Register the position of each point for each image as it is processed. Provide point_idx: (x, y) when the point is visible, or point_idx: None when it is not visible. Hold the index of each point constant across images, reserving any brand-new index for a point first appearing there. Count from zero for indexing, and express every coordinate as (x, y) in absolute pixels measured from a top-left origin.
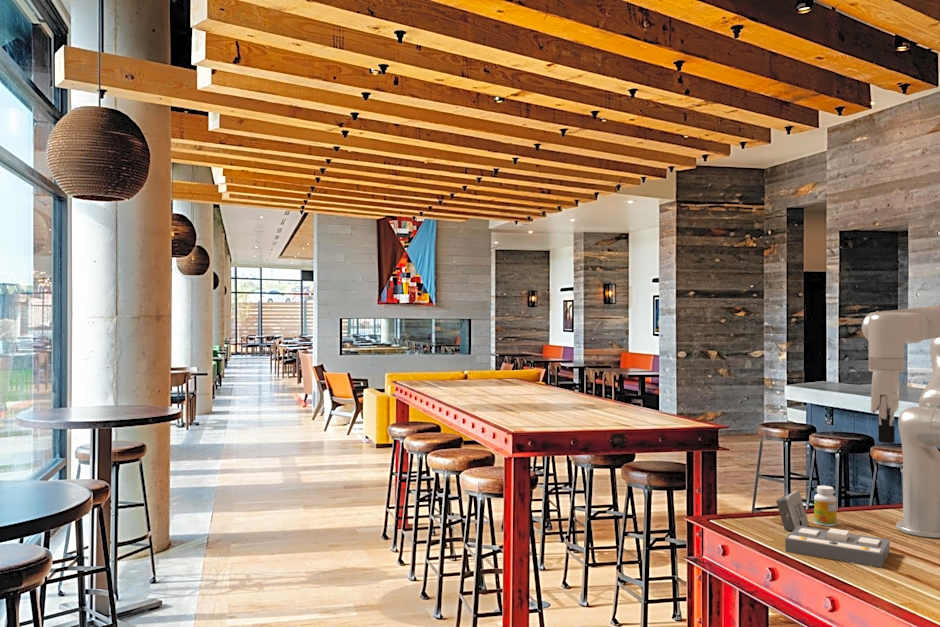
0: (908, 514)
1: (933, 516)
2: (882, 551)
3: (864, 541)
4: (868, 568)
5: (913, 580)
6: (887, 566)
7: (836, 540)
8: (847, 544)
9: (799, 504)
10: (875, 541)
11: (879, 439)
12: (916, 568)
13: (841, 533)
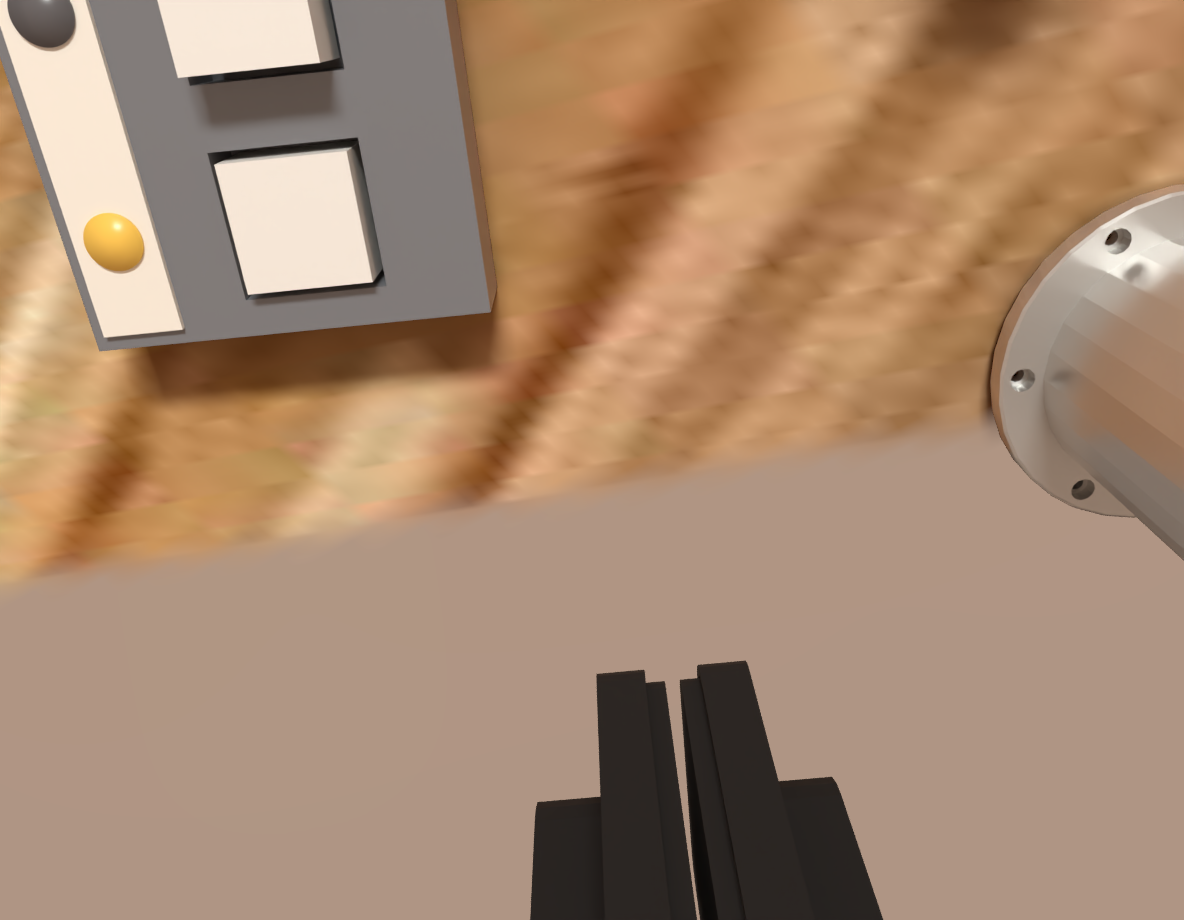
0: (1141, 317)
1: (1105, 480)
2: (164, 341)
3: (245, 205)
4: (62, 265)
5: (66, 495)
6: None
7: None
8: (105, 113)
9: None
10: (308, 266)
11: (604, 710)
12: (288, 467)
13: (192, 33)
